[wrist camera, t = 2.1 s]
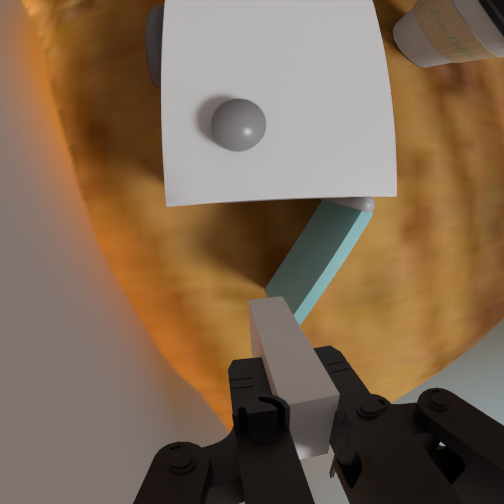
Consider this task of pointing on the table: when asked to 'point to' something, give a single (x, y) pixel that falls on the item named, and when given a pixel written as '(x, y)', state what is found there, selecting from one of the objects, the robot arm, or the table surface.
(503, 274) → the table surface
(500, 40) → the coffee cup
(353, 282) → the table surface
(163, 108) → the cabinet body
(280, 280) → the side door
